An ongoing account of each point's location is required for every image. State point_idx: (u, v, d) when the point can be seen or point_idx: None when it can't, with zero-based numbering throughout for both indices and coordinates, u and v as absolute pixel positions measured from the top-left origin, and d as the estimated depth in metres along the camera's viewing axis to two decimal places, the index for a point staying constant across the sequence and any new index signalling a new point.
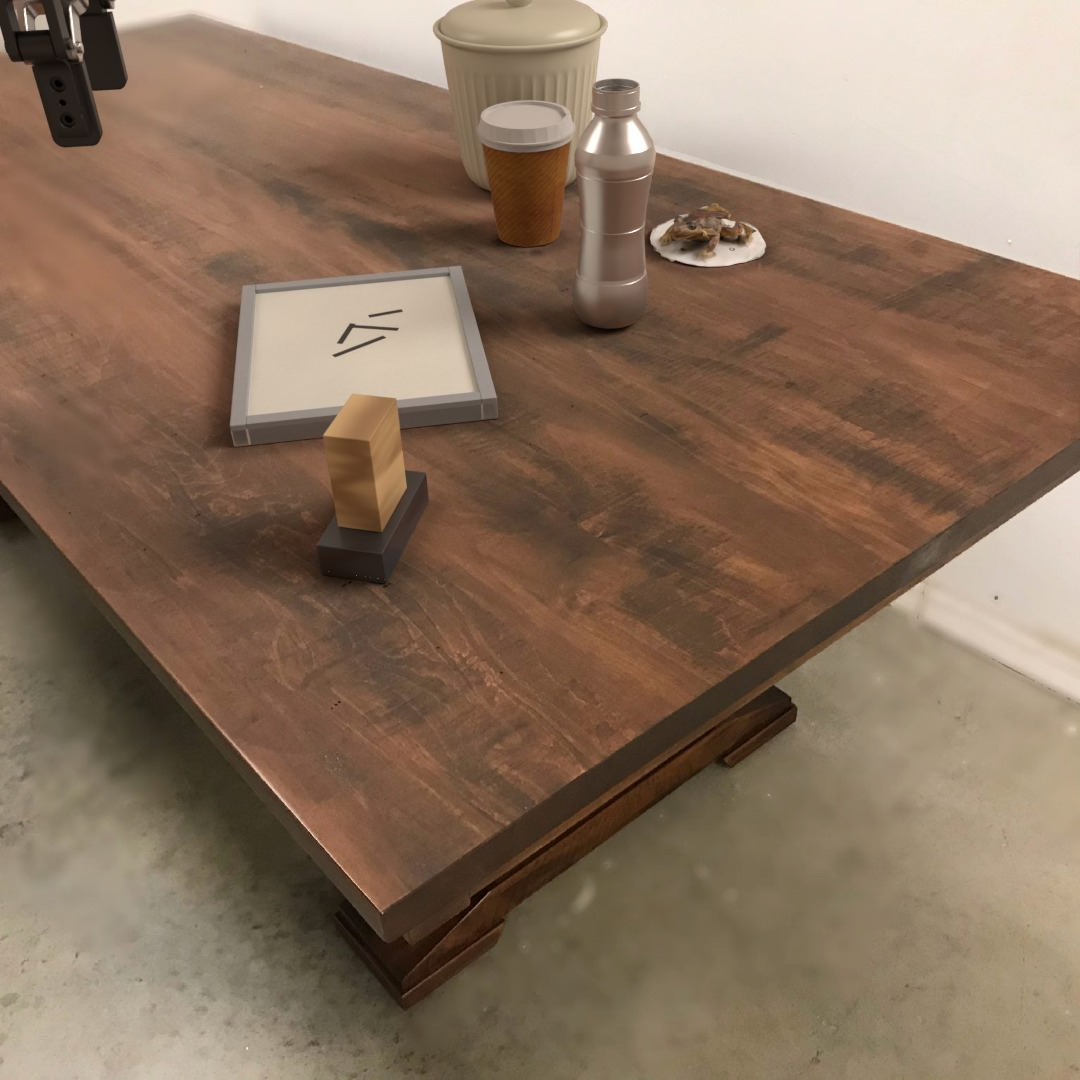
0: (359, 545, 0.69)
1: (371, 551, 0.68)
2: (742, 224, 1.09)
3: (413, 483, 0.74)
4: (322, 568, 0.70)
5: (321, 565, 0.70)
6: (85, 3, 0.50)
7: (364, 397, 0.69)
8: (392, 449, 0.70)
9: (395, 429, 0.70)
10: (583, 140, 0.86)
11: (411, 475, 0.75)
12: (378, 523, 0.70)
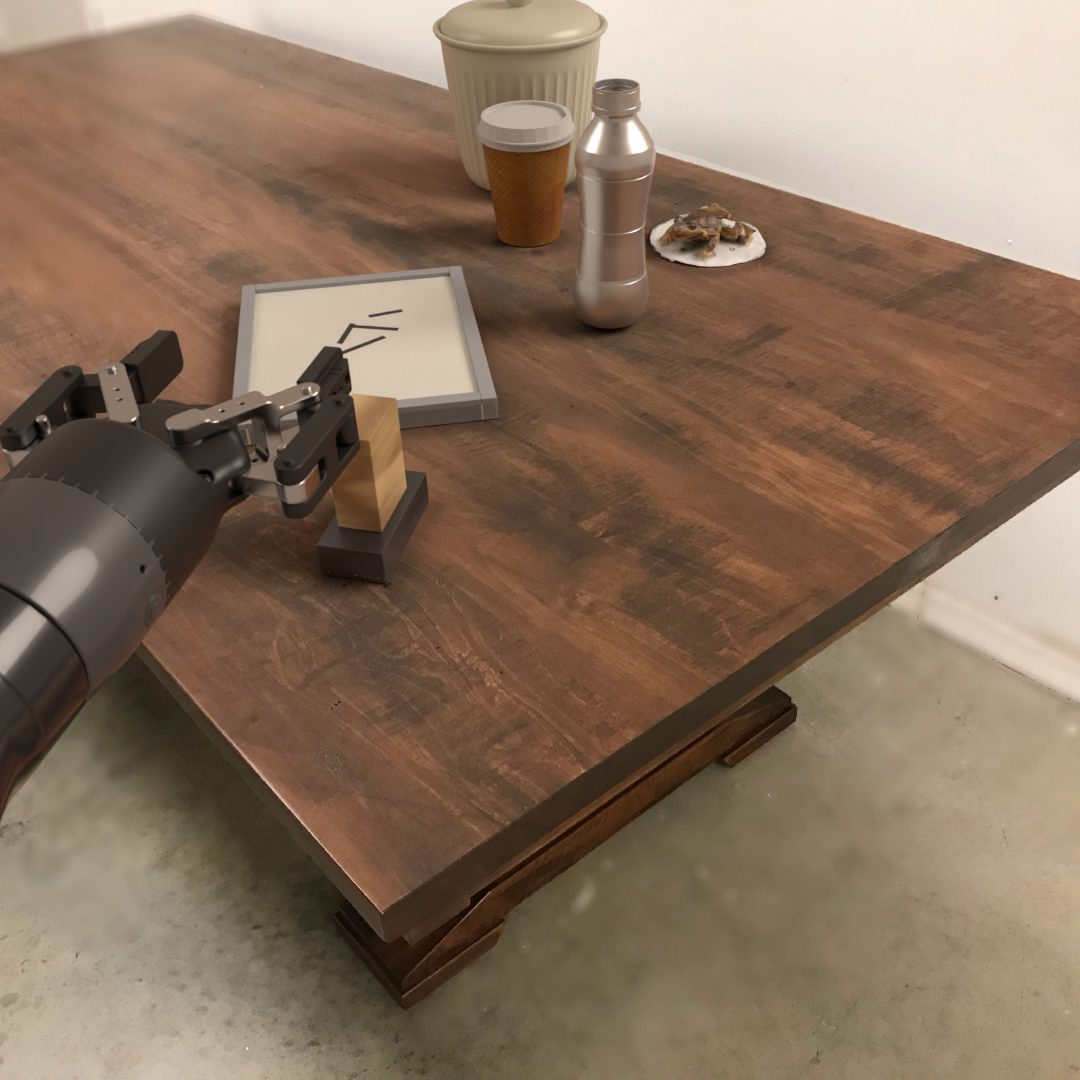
0: (359, 545, 0.69)
1: (371, 551, 0.68)
2: (742, 224, 1.09)
3: (413, 483, 0.74)
4: (322, 568, 0.70)
5: (321, 565, 0.70)
6: None
7: (364, 397, 0.69)
8: (392, 449, 0.70)
9: (395, 429, 0.70)
10: (583, 140, 0.86)
11: (411, 475, 0.75)
12: (378, 523, 0.70)
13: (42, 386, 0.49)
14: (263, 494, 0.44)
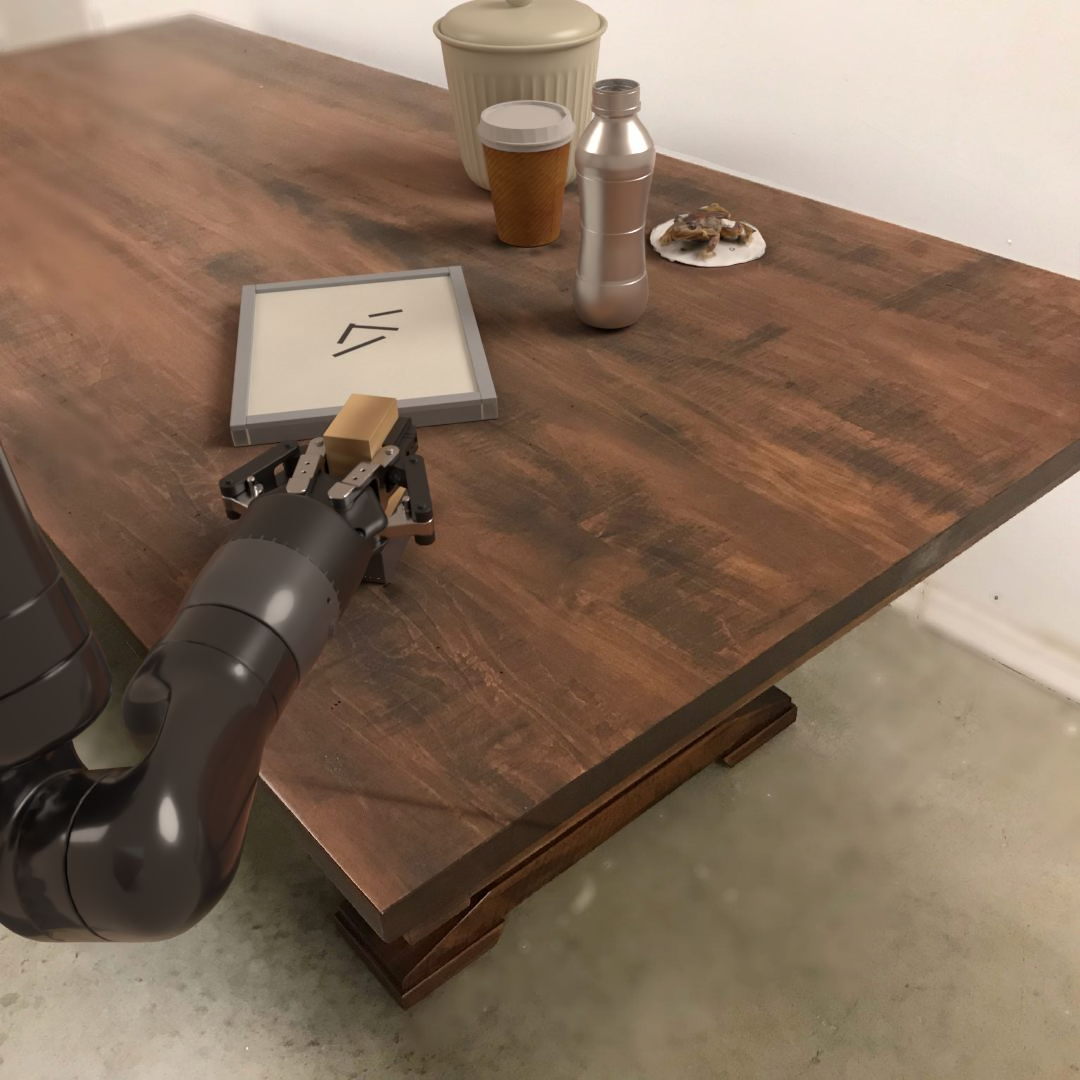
0: None
1: None
2: (742, 224, 1.09)
3: None
4: None
5: None
6: None
7: (364, 397, 0.69)
8: None
9: None
10: (583, 140, 0.86)
11: None
12: None
13: (266, 452, 0.67)
14: (404, 534, 0.63)
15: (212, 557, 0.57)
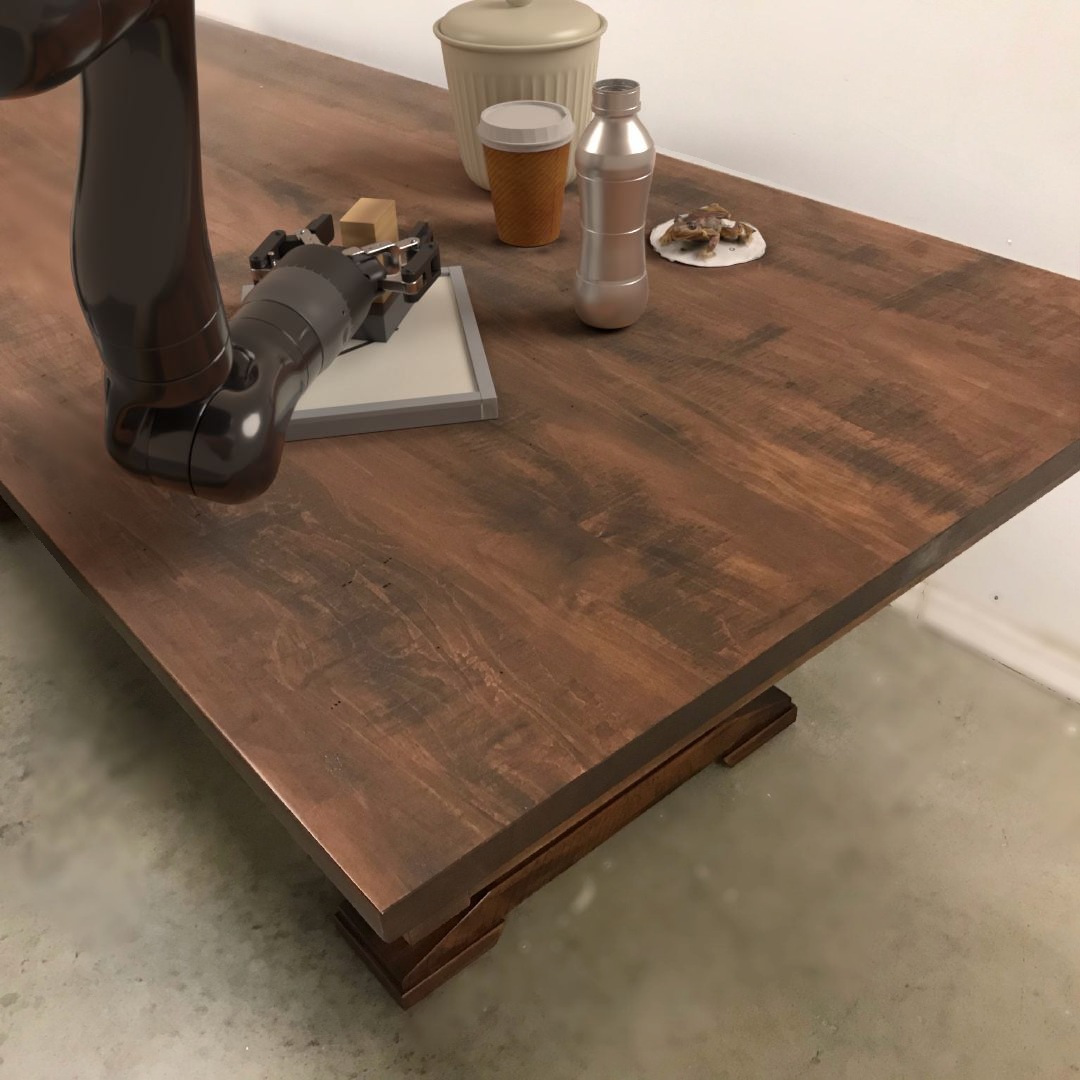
0: None
1: (375, 314, 0.90)
2: (742, 224, 1.09)
3: None
4: None
5: None
6: None
7: (370, 199, 0.91)
8: (391, 240, 0.92)
9: (393, 224, 0.92)
10: (583, 140, 0.86)
11: None
12: None
13: (266, 239, 0.88)
14: (394, 289, 0.84)
15: (259, 281, 0.78)
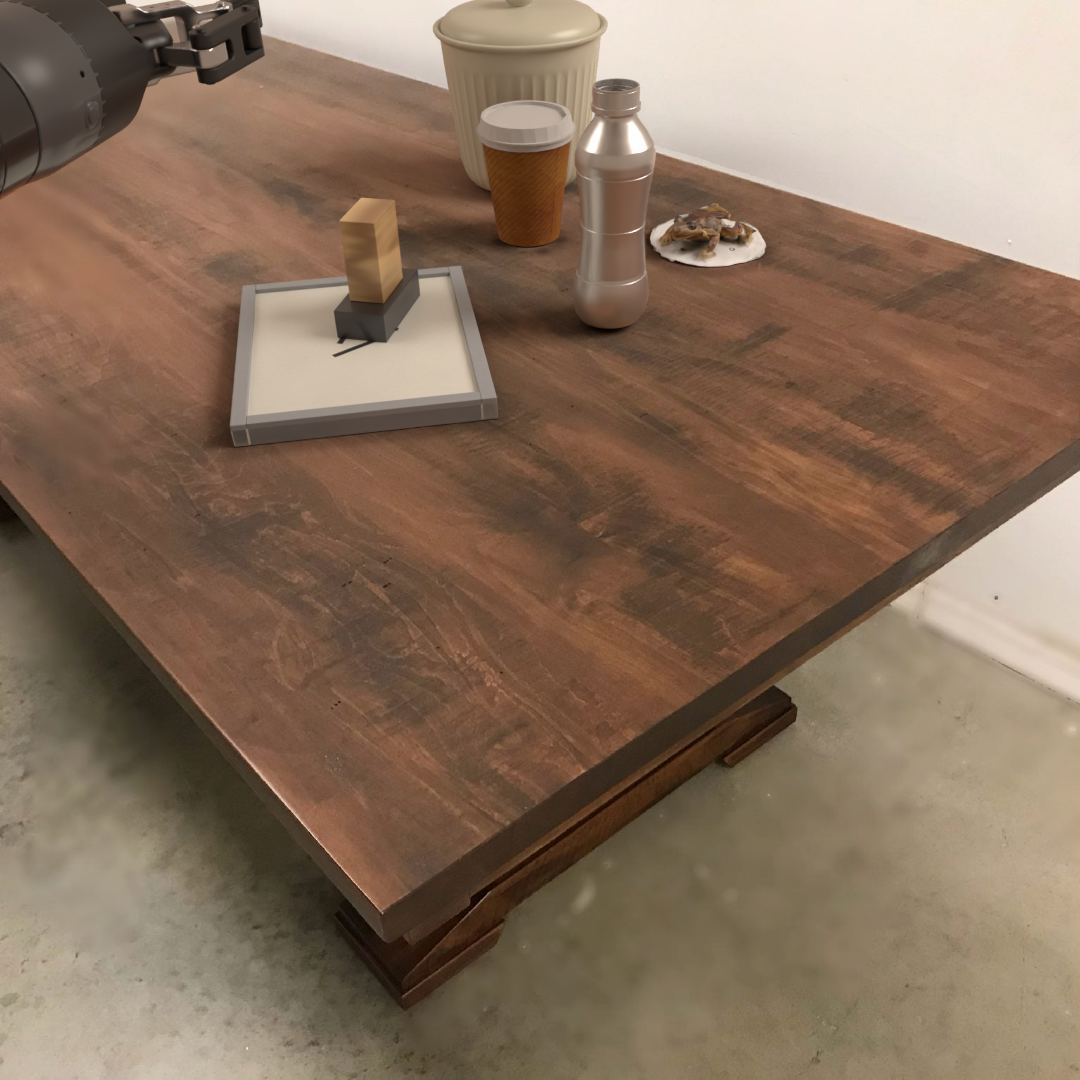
0: (366, 311, 0.91)
1: (375, 314, 0.90)
2: (742, 224, 1.09)
3: (408, 275, 0.96)
4: (338, 331, 0.92)
5: (337, 329, 0.92)
6: None
7: (370, 199, 0.91)
8: (391, 240, 0.92)
9: (393, 224, 0.92)
10: (583, 140, 0.86)
11: (406, 271, 0.97)
12: (380, 295, 0.91)
13: None
14: (182, 63, 0.57)
15: None
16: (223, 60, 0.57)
